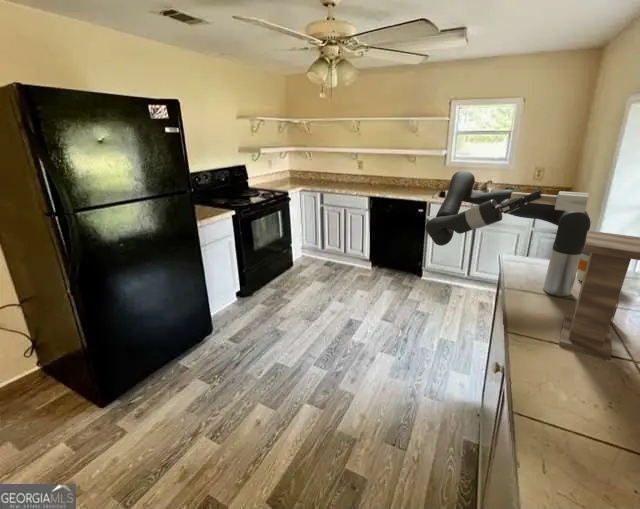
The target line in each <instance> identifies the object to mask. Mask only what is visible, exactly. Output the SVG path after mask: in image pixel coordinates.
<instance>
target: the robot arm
mask: <svg viewBox="0 0 640 509" xmlns="http://www.w3.org/2000/svg"><path fill="white" fill-rule="evenodd" d="M450 179H451V180H450V183H449V186H448V190H447V193H446V194H447V195H446V196H445V197H444V200H443V202H442V204H441V205H440V207H439V209H438V211H437V213H436V216H435V217H433V218H431V219H430V220H428V221H427V222H426V224H425V226H424V229H425V231H426V233H427V234H428V236H429V237H430V238H431V240H432V241H433V243H434V244H436V246H446V245H447V244H449V243H450V241H452V239H453V236H454V233H456V234H458V235H461V234H466V233H468V232H470V231H473V230H477V229H480V228H484V227H487V226H490V225H493V224H495V223H498V222H500V221H502V220H503V214H508V215H511V216H513V217H517V218H523V219H535V220H540V221H544V222H547V223H550V224H553V225H555V226H557V231H556V233H555V234H556V235H555V239H554V241H553V245H552V248H551V249H552V250H551V253H550V257H549V262H548V266H547V270H546V271H547V272H546V276H545V279H544V283H543V288H542V289H543V290H544V292H545V293H548V294H550V295H553V296H558V297H568V296H571V295H572V290H573V288H574V284H575V281H576V278H577V269H578V266H579V262H580V258H581V254H582V250H583V248H584V246H585V240H586V235H587V231H590V228H591V224H592V223H591V222H592V221H591V218H590V215H589V213H588V212H587V211H585V212H574V211H564V210H555V205H550V204H539V203H529V202H532V201H534V200H537V199H540V198H541V194H543V192H542V190H541V189H537V190H535V191H532V192H530V193H531V194H529V195H526V196H522V197H520V198H518V199H517V198H513V199H511V193H512V192H519V193H522V192H521V191H518V190H514V189H501V190H500V189H499V190H495V191H490V192H482V191H477V190H474V189H473V188H474V186H475V182H476V180H475V175H474V174H473V173H472V172H470V171H467V170H459V171H456V172H455V173H454V174H453V175H452V177H451V178H450ZM510 199H511V200H510ZM463 202H464V203H469V204H472V205H475V206H473V207H470V208H469V209H468V208H467V210H464V211H461V212H460V209H461V206H462V203H463Z"/></svg>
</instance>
